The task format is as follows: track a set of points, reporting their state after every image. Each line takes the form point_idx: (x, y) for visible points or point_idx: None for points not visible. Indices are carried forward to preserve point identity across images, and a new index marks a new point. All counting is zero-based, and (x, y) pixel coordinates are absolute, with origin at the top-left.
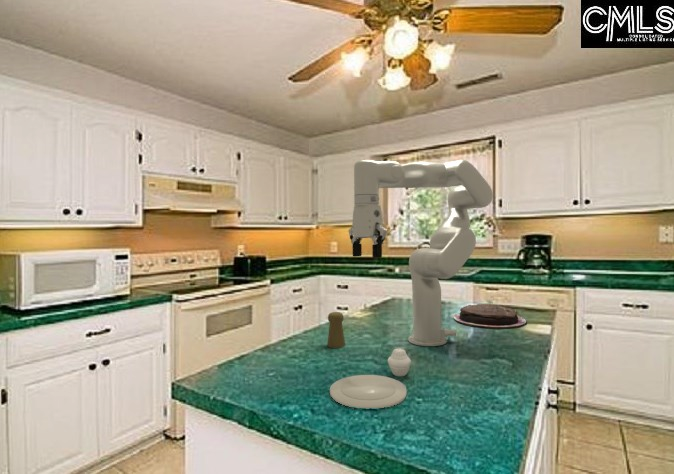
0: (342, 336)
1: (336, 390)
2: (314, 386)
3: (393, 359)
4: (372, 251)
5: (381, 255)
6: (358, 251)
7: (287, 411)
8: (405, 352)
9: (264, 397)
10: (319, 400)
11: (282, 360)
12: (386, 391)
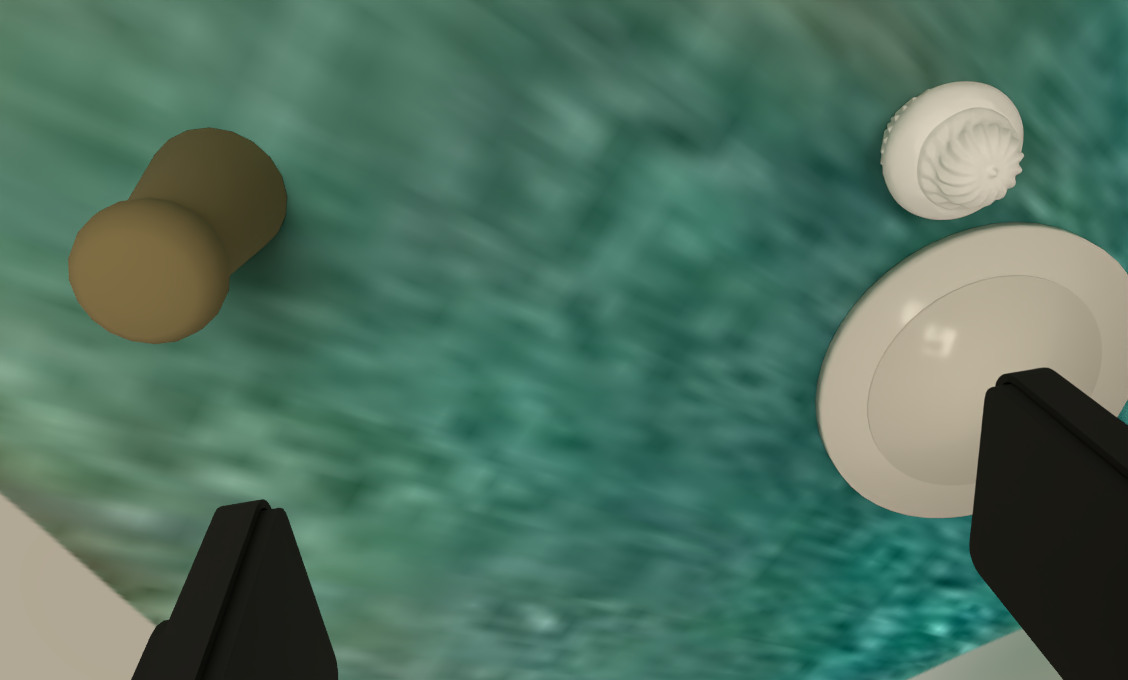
0: (249, 188)
1: (911, 492)
2: (777, 522)
3: (966, 209)
4: (1048, 657)
5: (1063, 389)
6: (287, 661)
7: (900, 641)
8: (1019, 140)
9: (755, 676)
10: (900, 544)
11: (382, 549)
12: (1068, 342)
